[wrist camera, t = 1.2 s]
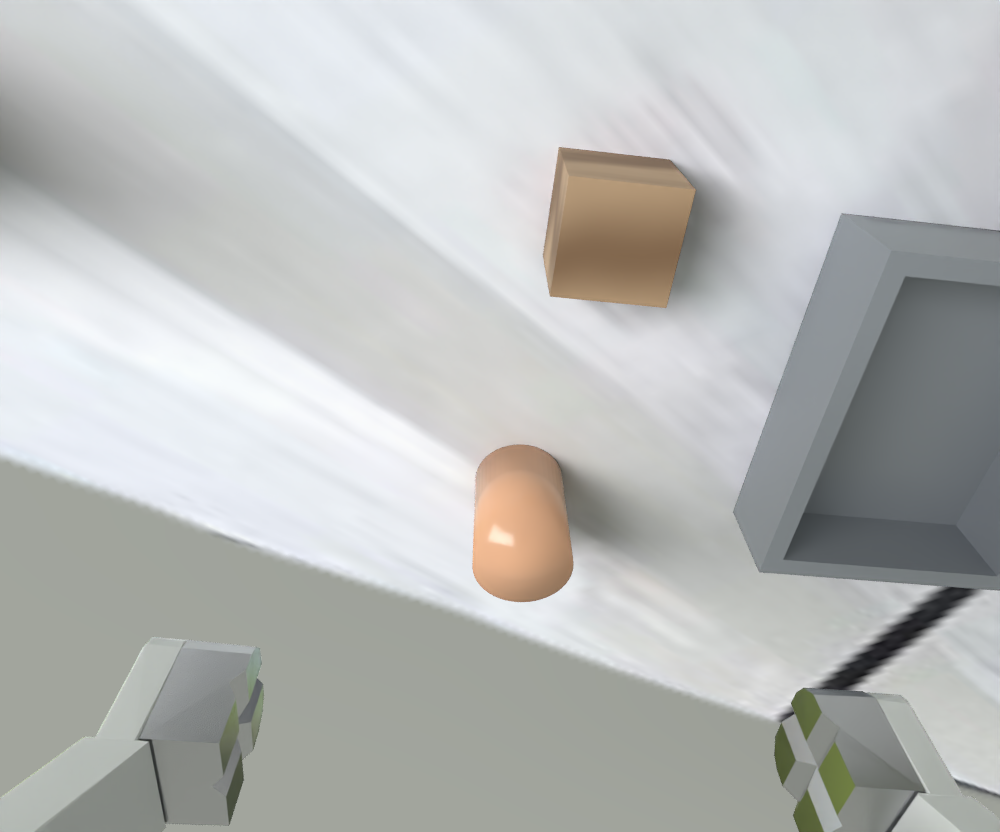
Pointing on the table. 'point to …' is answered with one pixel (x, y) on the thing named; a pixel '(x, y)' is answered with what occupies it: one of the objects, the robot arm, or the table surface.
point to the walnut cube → (615, 227)
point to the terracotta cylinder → (521, 525)
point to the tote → (887, 415)
